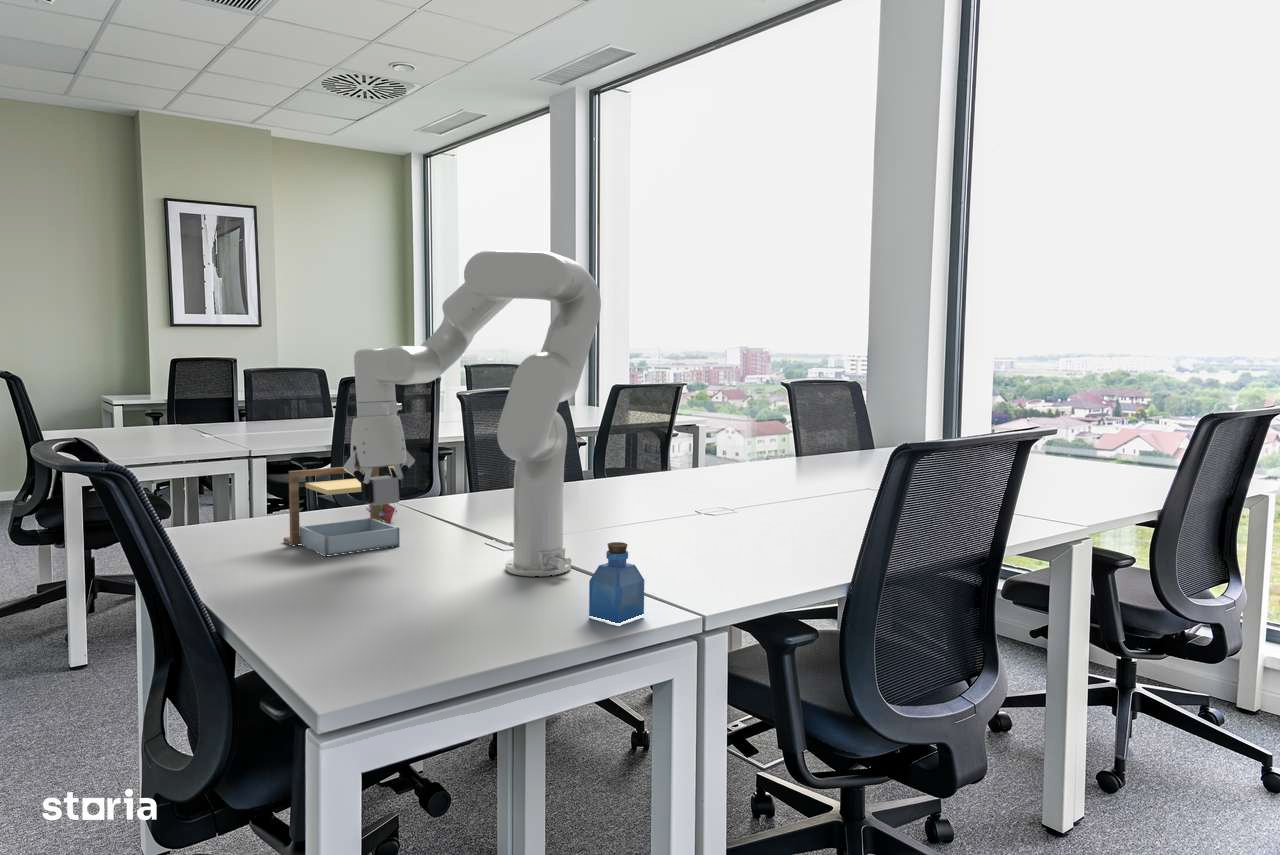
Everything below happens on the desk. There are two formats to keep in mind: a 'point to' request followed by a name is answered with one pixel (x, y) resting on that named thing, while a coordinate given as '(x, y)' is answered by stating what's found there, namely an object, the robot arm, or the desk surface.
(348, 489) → the flap
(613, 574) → the perfume bottle
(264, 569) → the desk surface
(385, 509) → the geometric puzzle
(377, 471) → the bracket
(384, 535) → the tray
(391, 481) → the gray cube
